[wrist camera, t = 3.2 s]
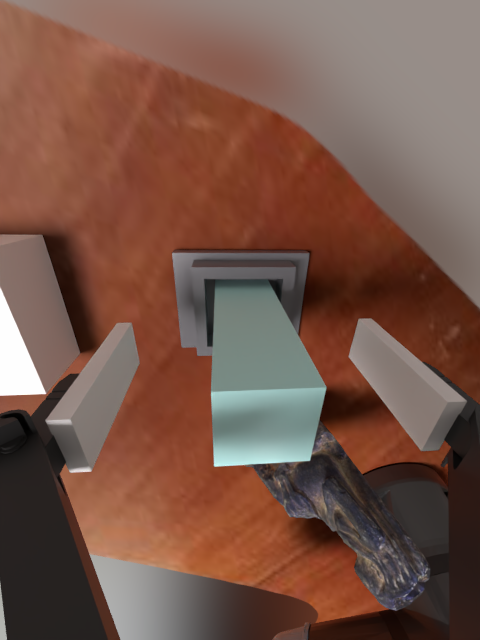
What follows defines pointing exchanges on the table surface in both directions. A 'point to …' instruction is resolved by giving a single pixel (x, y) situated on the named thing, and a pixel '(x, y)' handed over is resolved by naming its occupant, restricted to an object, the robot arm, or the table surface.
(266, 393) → the plug
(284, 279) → the grey socket
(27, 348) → the port
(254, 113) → the table surface
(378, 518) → the carved stone figurine
